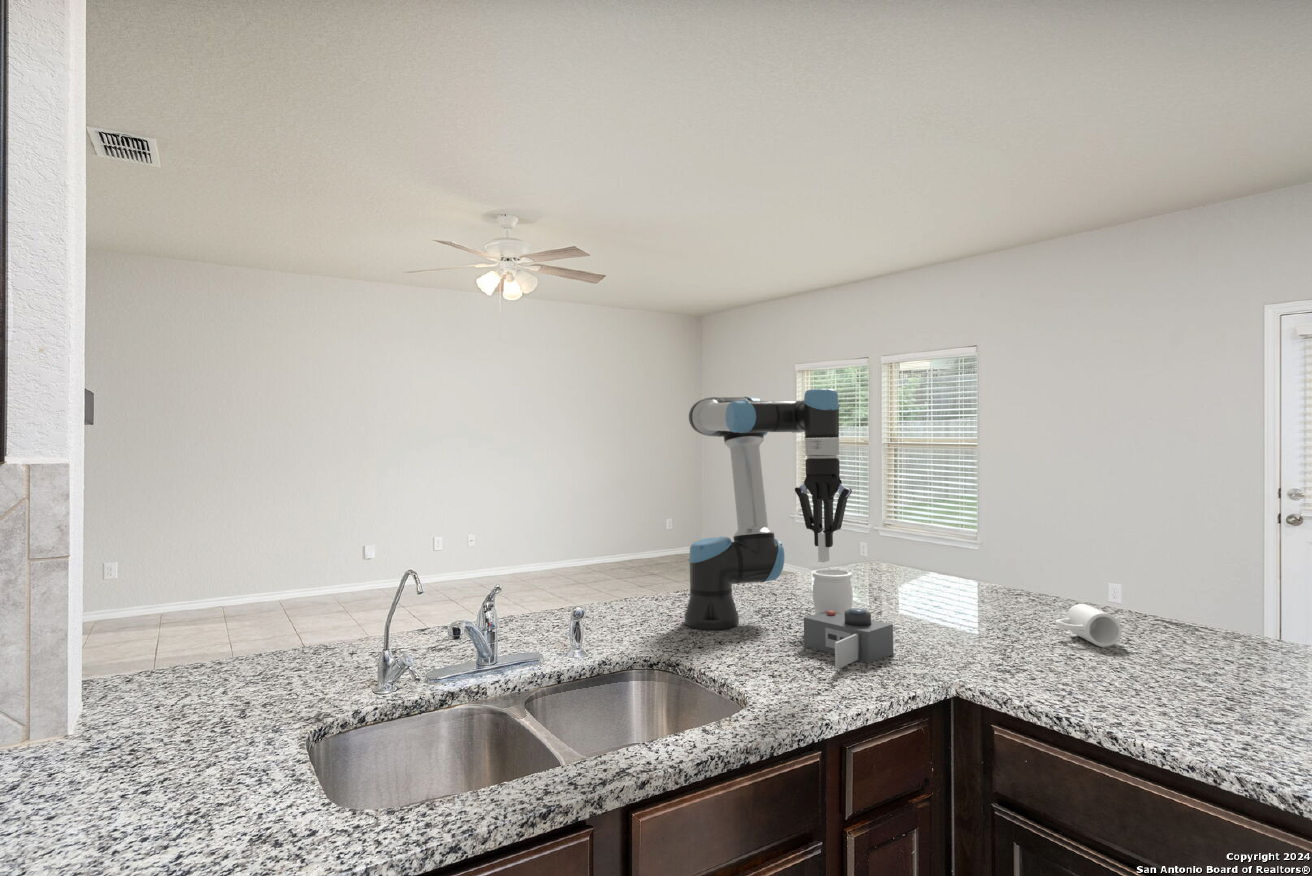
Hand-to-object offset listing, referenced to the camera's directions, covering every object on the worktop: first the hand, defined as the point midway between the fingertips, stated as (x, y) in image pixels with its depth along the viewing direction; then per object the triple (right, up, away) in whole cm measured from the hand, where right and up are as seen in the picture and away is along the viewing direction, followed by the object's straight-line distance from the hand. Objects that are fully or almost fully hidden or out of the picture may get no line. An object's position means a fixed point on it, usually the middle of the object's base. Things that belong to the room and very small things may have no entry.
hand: (823, 561), depth 152 cm
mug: (+67, -22, +12) cm, 71 cm away
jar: (+9, -23, +27) cm, 37 cm away
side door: (+4, -22, -4) cm, 23 cm away
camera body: (+8, -23, +8) cm, 25 cm away
